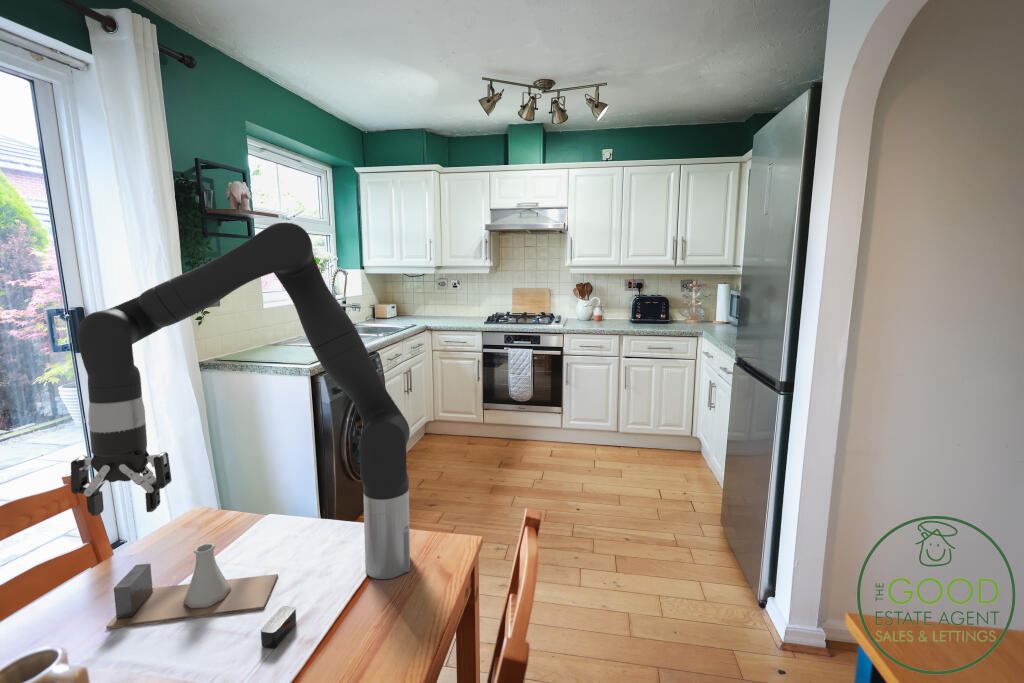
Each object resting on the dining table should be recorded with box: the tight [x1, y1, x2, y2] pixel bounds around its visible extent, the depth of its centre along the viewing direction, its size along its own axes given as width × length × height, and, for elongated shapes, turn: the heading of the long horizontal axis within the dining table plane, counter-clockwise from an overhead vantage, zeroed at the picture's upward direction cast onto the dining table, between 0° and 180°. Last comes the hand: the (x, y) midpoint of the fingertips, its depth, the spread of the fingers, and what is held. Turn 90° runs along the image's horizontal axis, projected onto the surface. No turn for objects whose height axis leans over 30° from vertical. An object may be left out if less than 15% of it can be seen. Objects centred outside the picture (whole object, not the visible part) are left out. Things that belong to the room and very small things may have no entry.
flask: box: [183, 542, 231, 608], centre depth 88 cm, size 7×7×10 cm
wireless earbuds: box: [260, 605, 297, 650], centre depth 81 cm, size 5×7×3 cm, turn 172°
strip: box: [105, 563, 279, 630], centre depth 88 cm, size 25×10×6 cm, turn 103°
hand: (125, 512), depth 84 cm, fingers open, 8 cm apart
